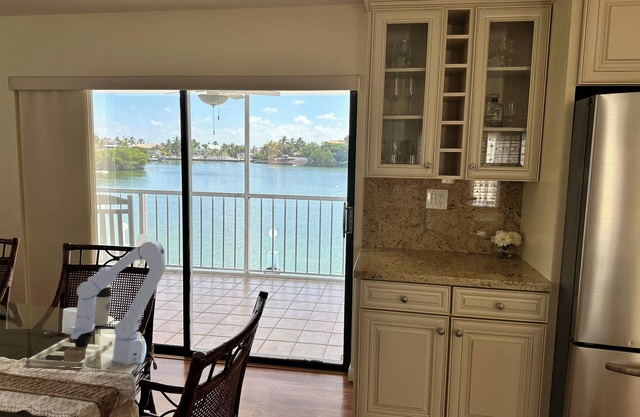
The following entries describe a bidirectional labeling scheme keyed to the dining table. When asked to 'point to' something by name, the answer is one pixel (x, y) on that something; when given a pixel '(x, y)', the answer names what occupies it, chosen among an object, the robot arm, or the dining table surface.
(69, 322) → the white cup
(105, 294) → the travel mug
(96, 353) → the white compartment tray
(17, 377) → the dining table surface
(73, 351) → the block
